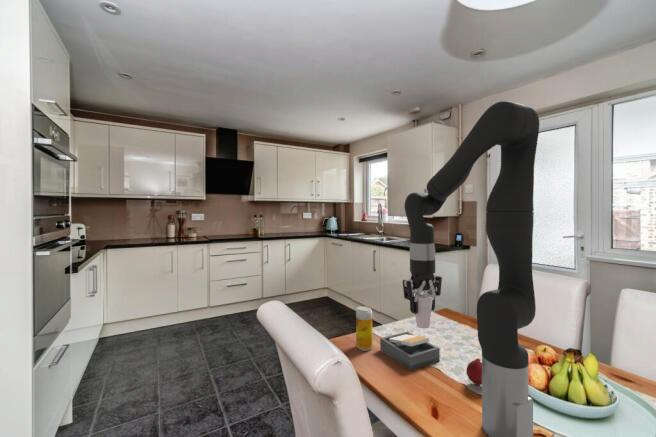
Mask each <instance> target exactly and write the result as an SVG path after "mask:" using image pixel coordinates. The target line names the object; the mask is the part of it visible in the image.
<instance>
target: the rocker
mask: <svg viewBox="0 0 656 437" xmlns="http://www.w3.org/2000/svg"><path fill="white" fill-rule="evenodd" d="M414 335H415V334H413V335H408V334H404V335H401V336H397V337H393V338H389V342H392V343H396V345H397V347H401V346H404V345H407V346H415V345H418V344H422V343H425V342H429V343H430V338H429V337H426V336H419V335H415V336H414Z"/></svg>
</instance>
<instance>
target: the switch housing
mask: <svg viewBox="0 0 656 437" xmlns="http://www.w3.org/2000/svg"><path fill="white" fill-rule="evenodd" d="M404 334H408V335H414V336H416V335H415V334H413V333H411V332H409V331H403V332H400V333H396V334H390V335H387V336H384V337H380V338H379V339H380V343H379V344H380V349H379V350H380V352H382V353H384V354H385V355H387V356H388V357H390V358H391V359H392V360H394V361H395V362H397V363H398V364H400V365H401V366H402V367H404V368H406V369H407V370H408V371H410V372H412V371H415V370H418V369H420V368H425V367H427V366H429V365H432V364H436V363H438V362H440V361H441V360H440V358H441V356H440V355H441V354H440V352H441V351H440V350H441V349H440V347H438V346H436V345H434V344H433V343H430V341H429V342H425V343H422V344H418V345H415V346H407V345H404V346H401V347H397V345H396V343H392V342H389V338H393V337H397V336H401V335H404Z"/></svg>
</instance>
